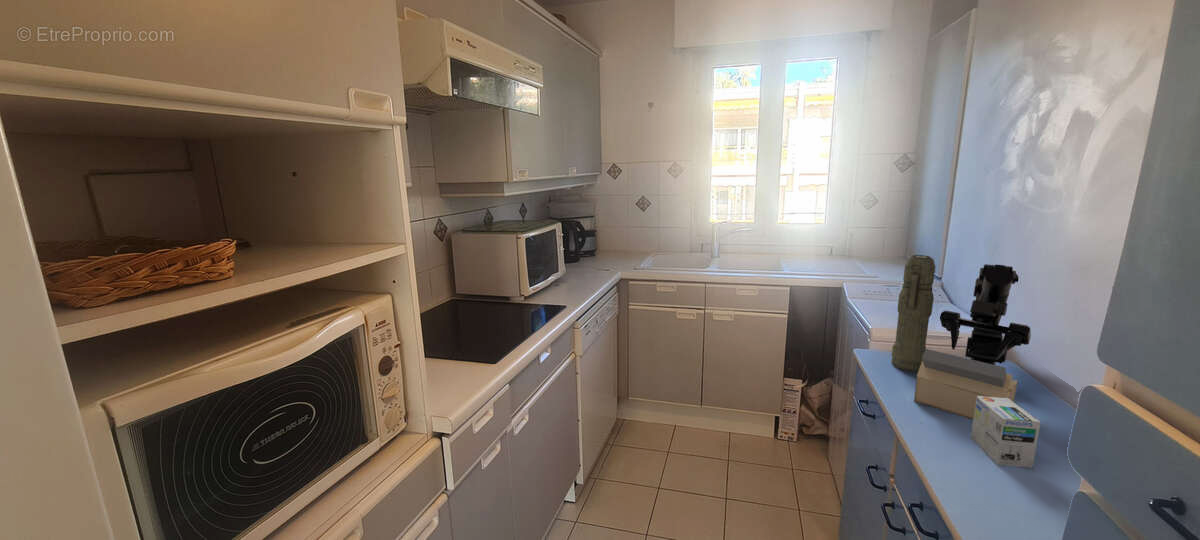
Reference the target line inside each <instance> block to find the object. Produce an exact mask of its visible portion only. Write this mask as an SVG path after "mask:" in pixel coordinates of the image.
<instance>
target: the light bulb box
mask: <svg viewBox="0 0 1200 540" xmlns="http://www.w3.org/2000/svg"><path fill="white" fill-rule="evenodd" d="M1041 423H1042V422H1041V421H1040V420H1038V419H1037V418H1036V417H1035V416H1033V415H1031V414H1030V413H1029V412H1027V411H1026V410H1025V409H1023V408H1022V407H1020V406H1019V405H1018V404H1017V403H1015V401H1014V402H1013V401H1011V400H1010V399H1009V398H997V397H984V396H977V400H976V407H975V413H974V419H973V420H972V427H971V432H970V439H971V440H972V441H974V443H975V444H977V446H978V447H979V448H981V450H982V451H983V452H984V453H985V454H986V455H988V457H989V459H991V460H992V461H993V462H994V463H995V464H996V465H997V466H1009V467H1021V468H1027V469H1028V468H1029V469H1032V468H1034V462H1035V461H1034V460H1035V456H1036V451H1037V450H1036V449H1037V445H1038V440H1039V435H1040V429H1041Z"/></svg>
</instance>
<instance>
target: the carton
mask: <svg viewBox="0 0 1200 540" xmlns="http://www.w3.org/2000/svg"><path fill="white" fill-rule="evenodd" d="M1018 382H1019V381H1018V380H1014V379H1012V380H1011V383H1010V387H1009V390H1008V393H1007V397H1006V398H1009V399H1010V400H1011V401H1013V402H1014V403H1015V397H1016V392H1017V387H1018ZM977 396H984V395H981V394H977V393H974V392H970V391H966V390H963V389H959V388H956V387H952V386H948V385H945V384H941V383H938V382H934V381H931V380H927V379H923V378H920V377H917V376H916V382H915V390H914V397H913V399H914V400H913V402H915V403H917V404H918V403H919V404H920V405H921V404H922V405H923V406H928V407H931V408H934V409H938V410H941V411H943V412H947V413H950V414H953V415H957V416H960V417H962V416H963V417H962V418H965V417H966V419H969V420H972V421H973V419H974V413H975V407H976V400H977ZM984 397H988V396H984Z"/></svg>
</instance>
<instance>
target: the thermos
mask: <svg viewBox="0 0 1200 540" xmlns="http://www.w3.org/2000/svg"><path fill="white" fill-rule="evenodd" d="M935 273H936V264H935V261H934V258H933V257H931V256H929V255H923V254H913V255H909V257H908V258H907V260H906V262H905V264H904V270H903V277H902V278H903V279H902V281H903V284H902V287H901V290H900V291H899V294H898V299H897V300H898V302H897V309H896V310H897V312H898V317H897V324H896V325H897V326H896V331H895V341H894V344H893V345H892V349H891V363H892V364H891V365H892V366H893V365H894V366H895V367H894V366H893V367H894V368H896V367H897V369H899V370H902V371H907V372H914V373H915V372H917V373H918V371H919V368H920V366H921V363H922V357H923V354H924V352H925V349H927V347H926V346H927V345H926V343H927V336H928V329H929V321H930V317H931V316H932V315H933V314H932V313H933V308H934V307H933V306H934V300H935V297H934V293H933V292H934V291H933V284H934V280H935Z"/></svg>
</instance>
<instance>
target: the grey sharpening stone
mask: <svg viewBox="0 0 1200 540" xmlns="http://www.w3.org/2000/svg"><path fill="white" fill-rule="evenodd" d="M1006 371H1007V370H1006V367H1004V366H1000V365H996V364H995V365H992V364H988V363H984V362H980V361H976V360H971V359H970V358H968V357H962V356H958V355H953V354H950V353H946V352H945V353H944V352H941V351H937V350H933V349H928V348H926V349H925V352H924V354H923V357H922V363H921V366H920V368H919V371H918V372H917V374H916V378H917V377H920V378H923V379H927V380H931V381H934V382H938V383H941V384H945V385H948V386H952V387H956V388H959V389H963V390H966V391H970V392H974V393H977V394H981V395H984V396H988V397H997V398H1006V397H1007V393H1008V390H1009V387H1010V383H1011V380H1013V375H1012V374H1009V373H1007V372H1006Z"/></svg>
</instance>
